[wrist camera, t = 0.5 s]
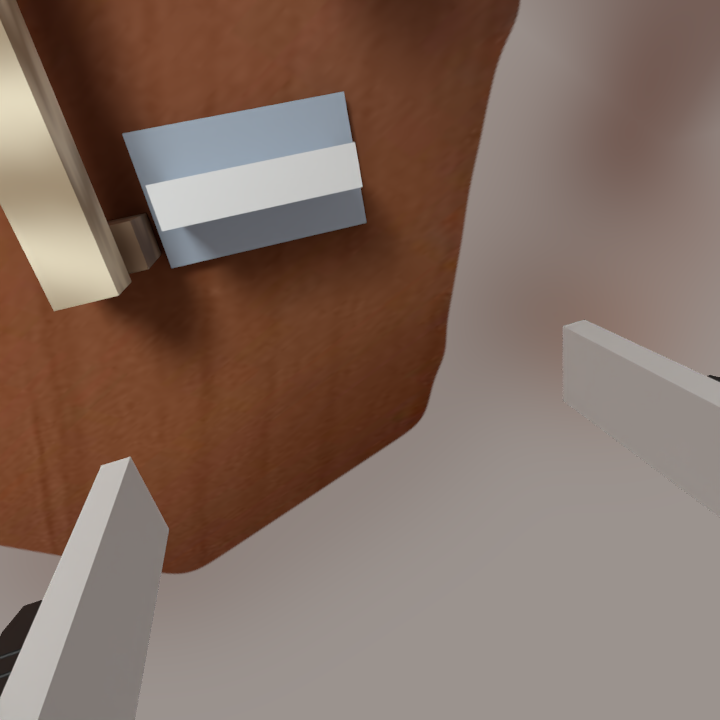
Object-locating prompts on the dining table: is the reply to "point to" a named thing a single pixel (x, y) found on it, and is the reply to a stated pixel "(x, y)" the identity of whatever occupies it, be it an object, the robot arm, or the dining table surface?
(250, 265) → the dining table surface
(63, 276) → the rod
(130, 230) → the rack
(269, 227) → the fulcrum
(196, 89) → the dining table surface
